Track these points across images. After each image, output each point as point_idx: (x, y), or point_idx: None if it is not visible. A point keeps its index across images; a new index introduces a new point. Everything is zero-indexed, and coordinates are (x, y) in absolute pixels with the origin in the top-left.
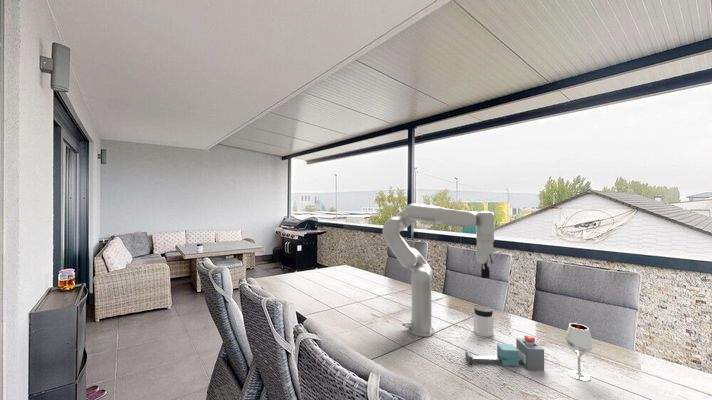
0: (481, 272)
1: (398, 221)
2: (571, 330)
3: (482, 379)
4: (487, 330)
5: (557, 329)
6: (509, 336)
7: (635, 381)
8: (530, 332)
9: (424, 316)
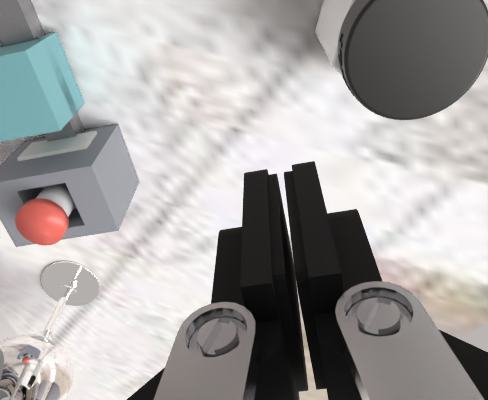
0: (306, 214)
1: None
2: None
3: None
4: (320, 37)
5: None
6: (348, 147)
7: (108, 386)
8: (409, 246)
9: None
